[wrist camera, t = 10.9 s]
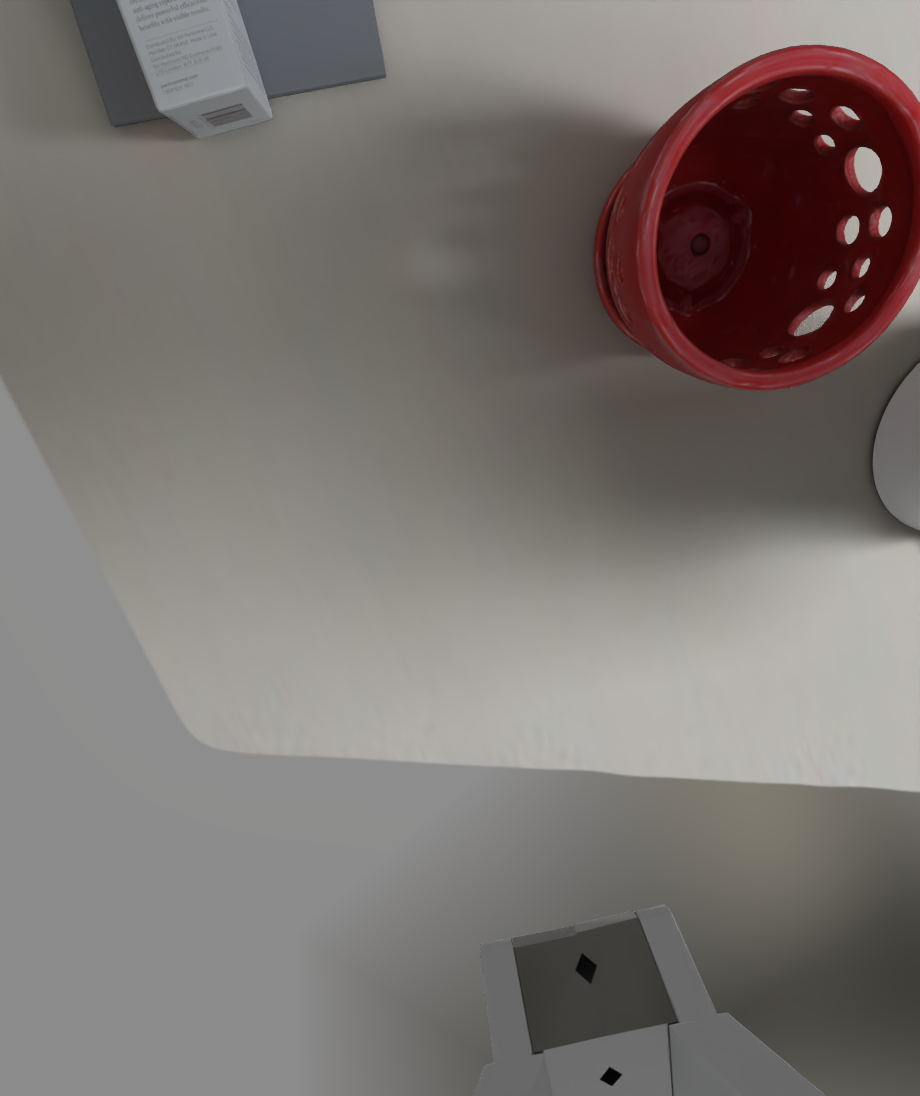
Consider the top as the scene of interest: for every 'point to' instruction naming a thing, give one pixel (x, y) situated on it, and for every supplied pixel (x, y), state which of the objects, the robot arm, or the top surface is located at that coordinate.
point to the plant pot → (766, 221)
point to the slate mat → (276, 39)
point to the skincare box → (197, 63)
